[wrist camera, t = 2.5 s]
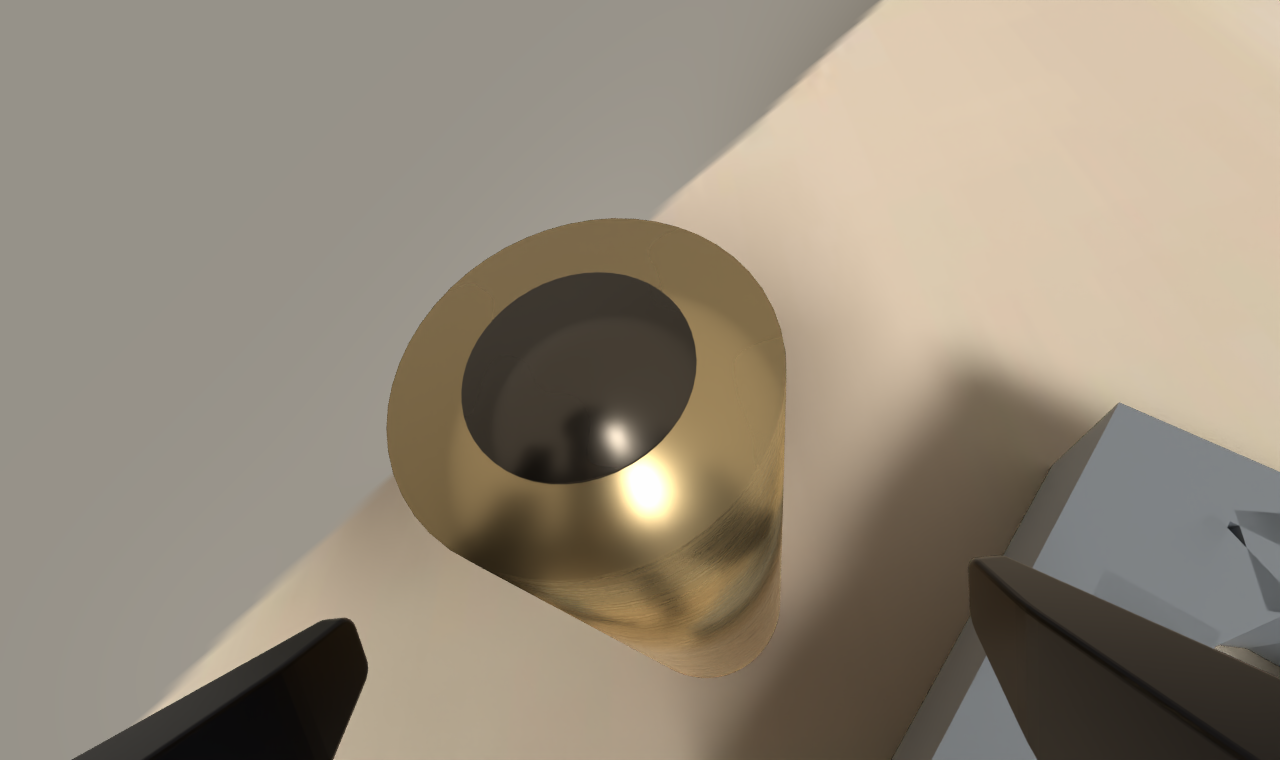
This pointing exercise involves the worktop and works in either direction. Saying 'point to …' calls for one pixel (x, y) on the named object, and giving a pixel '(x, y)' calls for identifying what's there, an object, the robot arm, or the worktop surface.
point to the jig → (1126, 564)
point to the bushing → (607, 435)
